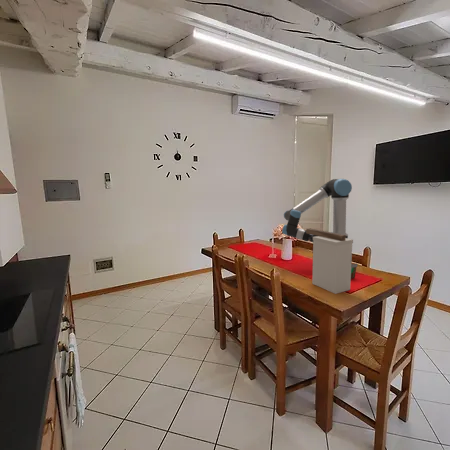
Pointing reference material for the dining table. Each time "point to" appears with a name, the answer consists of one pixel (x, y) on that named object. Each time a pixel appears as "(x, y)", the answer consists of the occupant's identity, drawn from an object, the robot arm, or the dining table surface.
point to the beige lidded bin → (332, 264)
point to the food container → (353, 270)
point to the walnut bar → (326, 234)
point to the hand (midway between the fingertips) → (334, 244)
